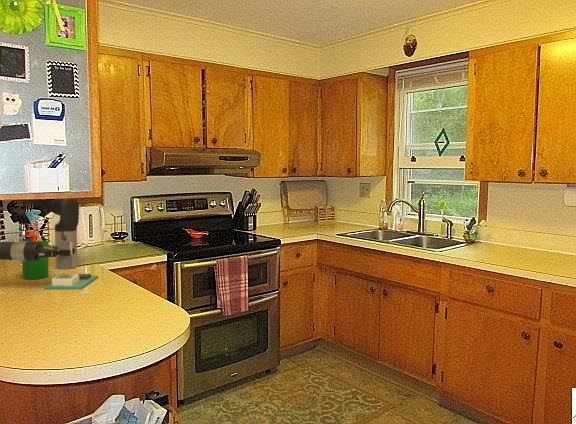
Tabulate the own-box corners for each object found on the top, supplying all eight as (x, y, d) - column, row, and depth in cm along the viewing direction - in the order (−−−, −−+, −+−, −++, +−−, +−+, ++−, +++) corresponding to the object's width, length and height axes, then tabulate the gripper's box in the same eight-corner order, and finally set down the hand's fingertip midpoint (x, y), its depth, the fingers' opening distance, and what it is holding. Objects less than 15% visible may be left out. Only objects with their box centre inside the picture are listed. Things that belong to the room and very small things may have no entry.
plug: (61, 267, 190) (61, 232, 189) (73, 267, 191) (73, 232, 189) (57, 269, 186) (57, 233, 185) (70, 269, 187) (69, 233, 185)
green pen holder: (52, 275, 206) (52, 229, 205) (40, 280, 198) (39, 231, 196) (30, 274, 207) (29, 228, 206) (17, 279, 199) (15, 230, 197)
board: (63, 277, 203) (63, 269, 202) (98, 277, 204) (97, 269, 203) (43, 289, 183) (43, 280, 182) (81, 289, 184) (81, 280, 183)
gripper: (18, 244, 179) (65, 245, 181) (34, 239, 193) (78, 239, 195) (18, 264, 180) (65, 264, 181) (35, 257, 194) (78, 258, 195)
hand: (72, 251), depth 188 cm, fingers closed on plug, 4 cm apart
